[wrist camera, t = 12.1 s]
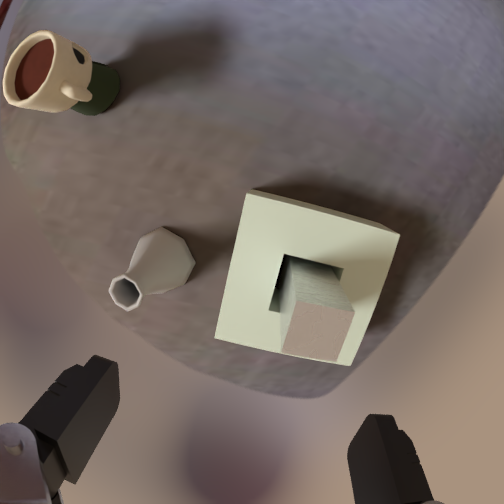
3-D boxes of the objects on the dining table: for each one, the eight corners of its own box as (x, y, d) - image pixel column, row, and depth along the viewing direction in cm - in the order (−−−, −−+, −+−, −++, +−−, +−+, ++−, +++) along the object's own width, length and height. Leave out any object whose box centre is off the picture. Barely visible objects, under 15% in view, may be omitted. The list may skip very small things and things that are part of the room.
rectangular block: (287, 246, 33) (296, 300, 20) (324, 254, 33) (355, 312, 19) (278, 281, 34) (281, 352, 21) (314, 289, 34) (336, 362, 21)
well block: (251, 188, 32) (246, 193, 26) (379, 223, 32) (400, 234, 26) (223, 311, 35) (214, 337, 30) (340, 337, 35) (350, 366, 30)
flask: (207, 262, 34) (182, 299, 24) (165, 302, 36) (132, 345, 26) (162, 214, 33) (120, 233, 23) (123, 257, 35) (77, 287, 25)
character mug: (148, 85, 29) (86, 50, 17) (113, 138, 31) (39, 130, 19) (89, 49, 28) (23, 17, 16) (58, 98, 30) (-15, 83, 18)
